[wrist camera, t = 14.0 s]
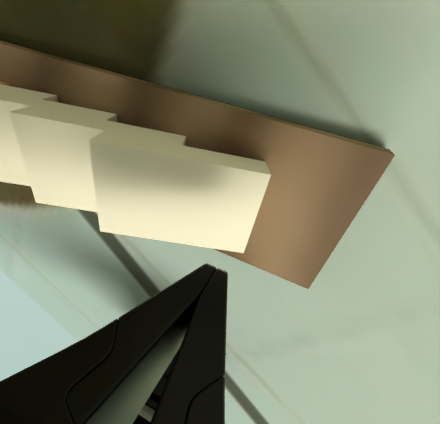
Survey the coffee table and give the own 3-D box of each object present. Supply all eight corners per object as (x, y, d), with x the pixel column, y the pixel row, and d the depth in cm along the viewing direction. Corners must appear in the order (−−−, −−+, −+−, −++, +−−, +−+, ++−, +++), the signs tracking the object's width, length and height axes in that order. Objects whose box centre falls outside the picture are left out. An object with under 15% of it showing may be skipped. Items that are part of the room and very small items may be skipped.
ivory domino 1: (105, 120, 12) (-62, 87, 11) (112, 198, 15) (-22, 178, 14) (116, 113, 14) (-33, 84, 13) (120, 187, 16) (-2, 167, 15)
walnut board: (389, 149, 10) (394, 155, 10) (308, 278, 15) (308, 288, 15) (-15, 36, 16) (-34, 33, 15) (22, 159, 21) (10, 162, 20)
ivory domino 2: (182, 145, 11) (8, 111, 11) (173, 224, 14) (35, 202, 13) (186, 136, 13) (32, 105, 12) (178, 209, 15) (52, 189, 15)
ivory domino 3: (270, 174, 10) (88, 140, 10) (243, 253, 13) (100, 231, 12) (265, 161, 12) (104, 130, 11) (241, 235, 14) (112, 214, 14)
